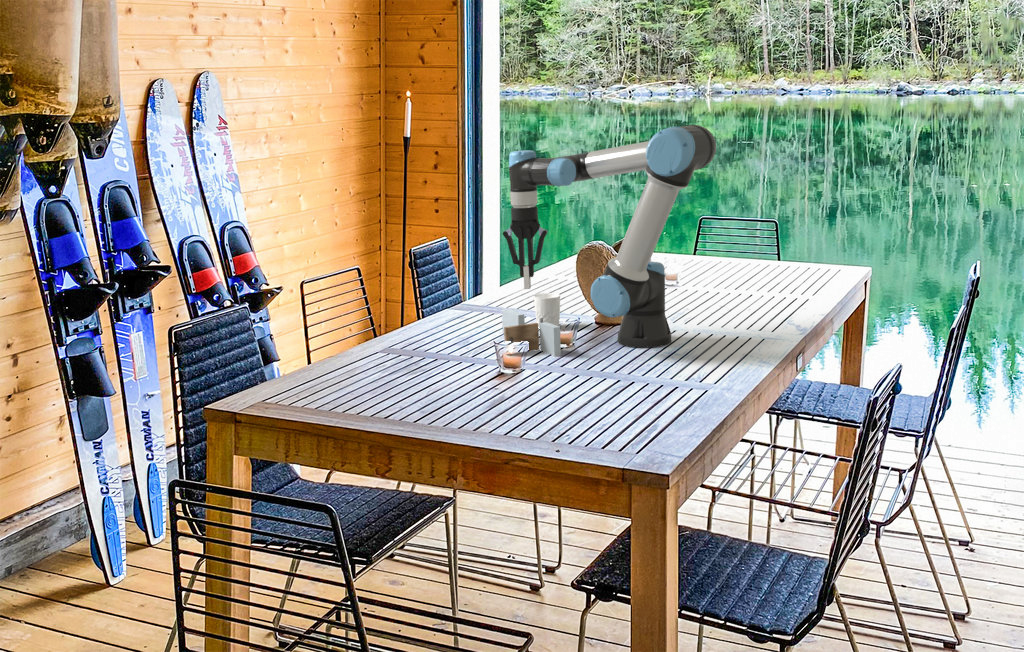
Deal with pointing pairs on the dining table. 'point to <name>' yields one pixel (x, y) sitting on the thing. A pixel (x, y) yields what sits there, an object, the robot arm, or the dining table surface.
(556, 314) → the white cup
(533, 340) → the door
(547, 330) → the wall frame
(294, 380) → the dining table surface
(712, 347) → the dining table surface
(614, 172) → the robot arm
